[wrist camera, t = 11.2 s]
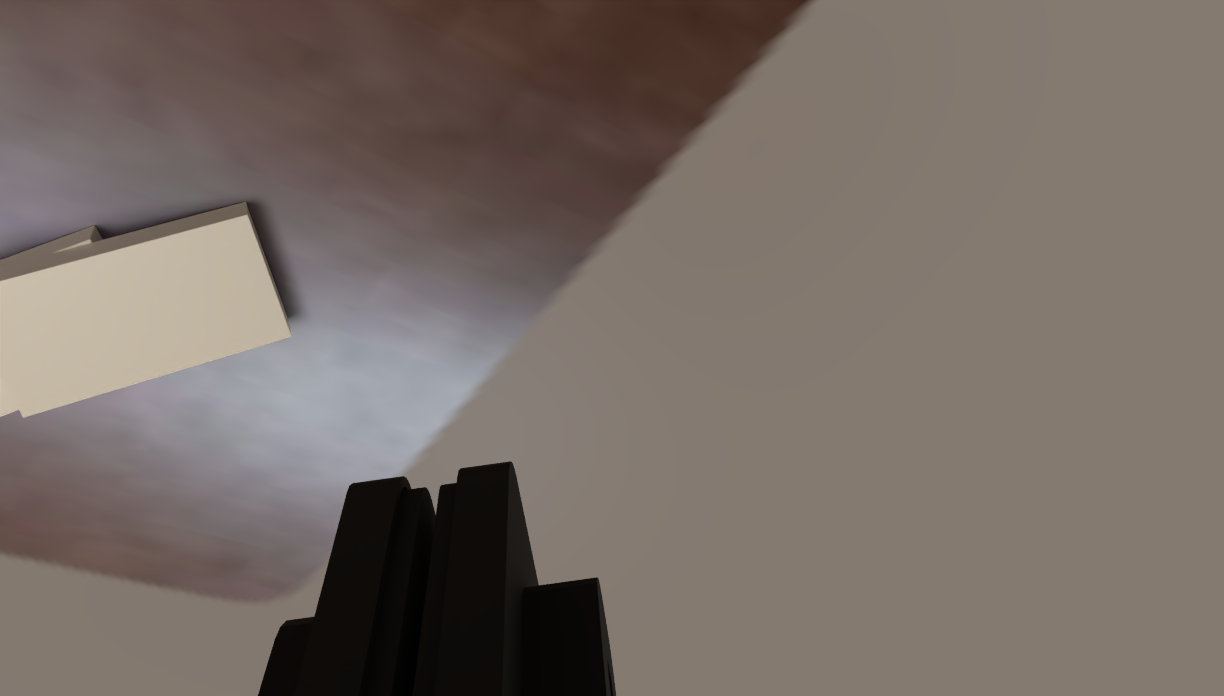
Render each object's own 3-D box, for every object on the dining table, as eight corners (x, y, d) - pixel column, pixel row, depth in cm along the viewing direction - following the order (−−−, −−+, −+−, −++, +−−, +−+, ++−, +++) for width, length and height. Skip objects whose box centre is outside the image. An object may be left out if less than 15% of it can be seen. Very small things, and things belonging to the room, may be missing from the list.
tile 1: (247, 214, 37) (-44, 292, 34) (291, 336, 39) (23, 417, 37) (245, 201, 38) (-33, 275, 36) (288, 320, 41) (30, 396, 38)
